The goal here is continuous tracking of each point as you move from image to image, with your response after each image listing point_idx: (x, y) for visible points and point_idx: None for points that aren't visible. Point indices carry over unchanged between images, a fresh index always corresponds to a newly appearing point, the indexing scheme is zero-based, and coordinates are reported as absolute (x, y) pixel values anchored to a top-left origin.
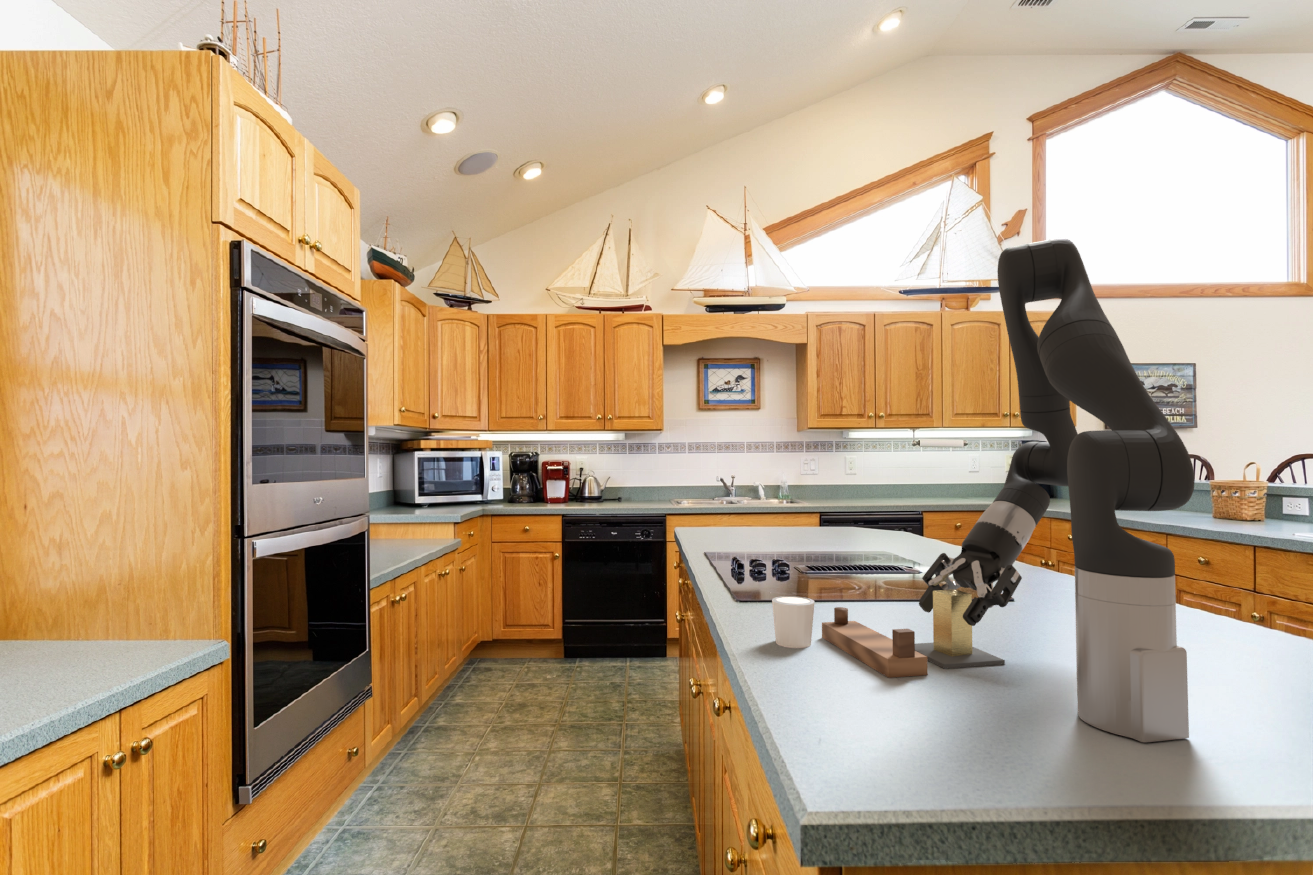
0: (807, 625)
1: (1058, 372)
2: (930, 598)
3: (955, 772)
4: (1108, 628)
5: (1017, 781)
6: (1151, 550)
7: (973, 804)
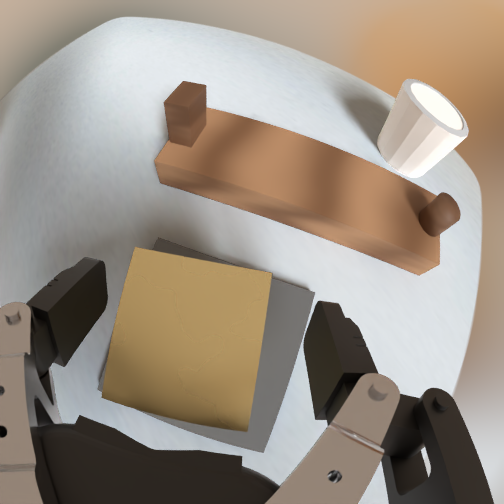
0: (393, 124)
1: None
2: (321, 347)
3: (63, 63)
4: None
5: (31, 84)
6: None
7: (52, 57)
